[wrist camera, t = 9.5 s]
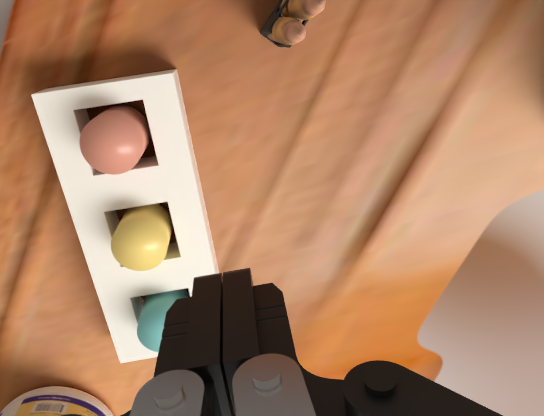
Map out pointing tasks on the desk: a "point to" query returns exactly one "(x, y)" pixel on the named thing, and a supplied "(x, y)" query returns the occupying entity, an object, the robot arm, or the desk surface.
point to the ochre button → (142, 237)
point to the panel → (130, 195)
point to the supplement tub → (55, 403)
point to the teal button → (156, 317)
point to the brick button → (115, 139)
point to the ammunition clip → (290, 21)
